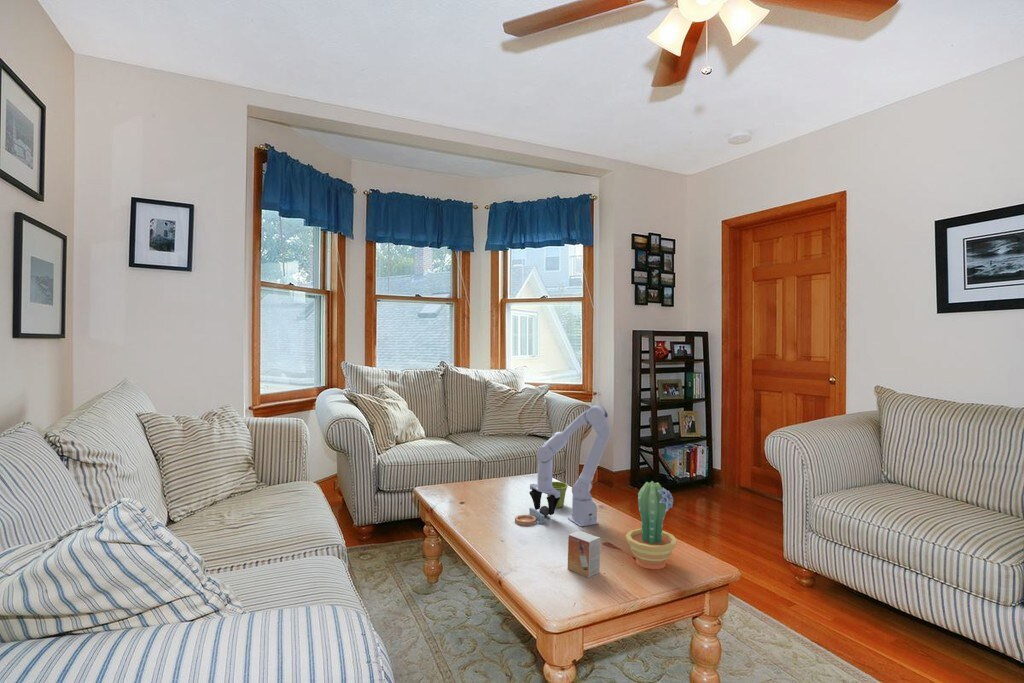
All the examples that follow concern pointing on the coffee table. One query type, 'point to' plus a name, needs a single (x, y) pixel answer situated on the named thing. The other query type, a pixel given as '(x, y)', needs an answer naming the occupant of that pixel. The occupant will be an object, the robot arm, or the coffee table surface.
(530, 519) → the bowl
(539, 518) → the blue slab with nubs
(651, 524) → the potted cactus
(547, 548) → the coffee table surface
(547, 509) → the ball
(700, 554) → the coffee table surface
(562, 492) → the plant pot
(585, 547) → the small box
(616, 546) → the coffee table surface
